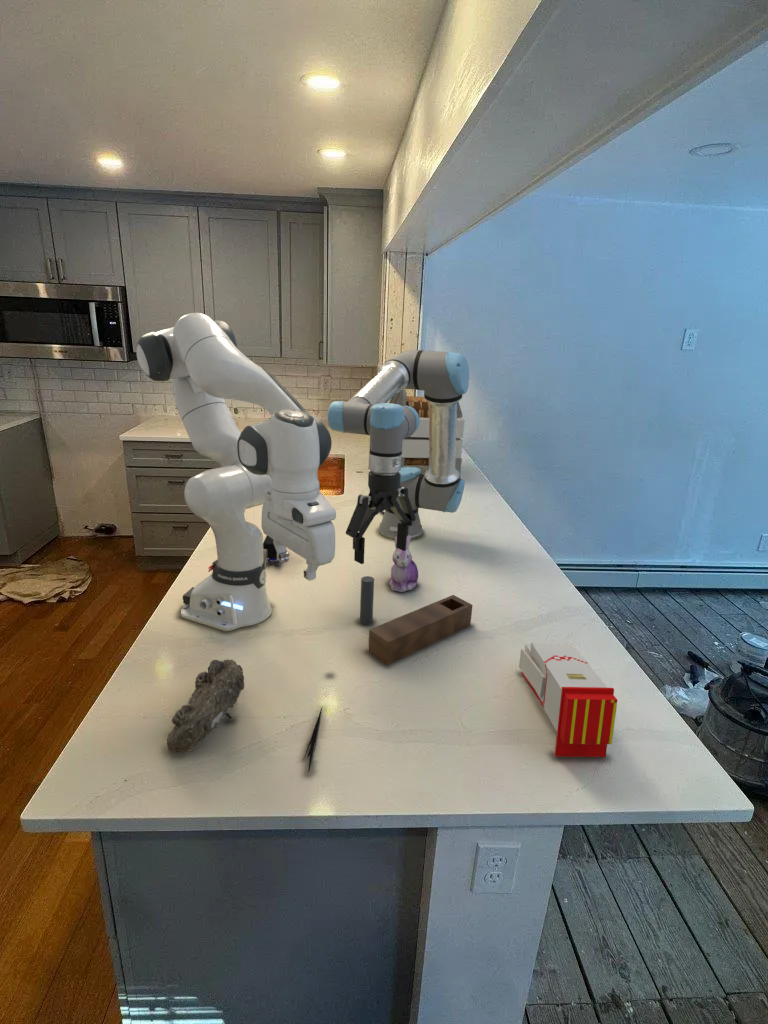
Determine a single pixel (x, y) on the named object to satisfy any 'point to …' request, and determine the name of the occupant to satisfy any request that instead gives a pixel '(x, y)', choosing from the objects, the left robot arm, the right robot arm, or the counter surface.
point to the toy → (570, 698)
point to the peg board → (419, 629)
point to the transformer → (424, 433)
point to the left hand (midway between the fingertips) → (296, 569)
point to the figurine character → (269, 550)
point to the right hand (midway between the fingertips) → (380, 555)
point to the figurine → (403, 569)
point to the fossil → (206, 705)
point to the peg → (366, 600)
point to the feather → (313, 740)
